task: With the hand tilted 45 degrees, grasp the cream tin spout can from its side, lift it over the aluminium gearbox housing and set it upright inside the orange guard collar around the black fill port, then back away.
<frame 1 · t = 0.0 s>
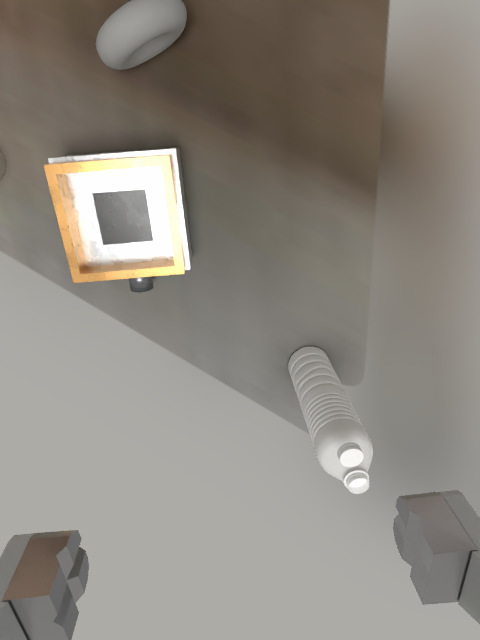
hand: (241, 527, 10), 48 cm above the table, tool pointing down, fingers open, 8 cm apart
water bottle: (305, 356, 65), on the table
gearbox: (132, 208, 53), on the table
donut: (149, 42, 46), on the table
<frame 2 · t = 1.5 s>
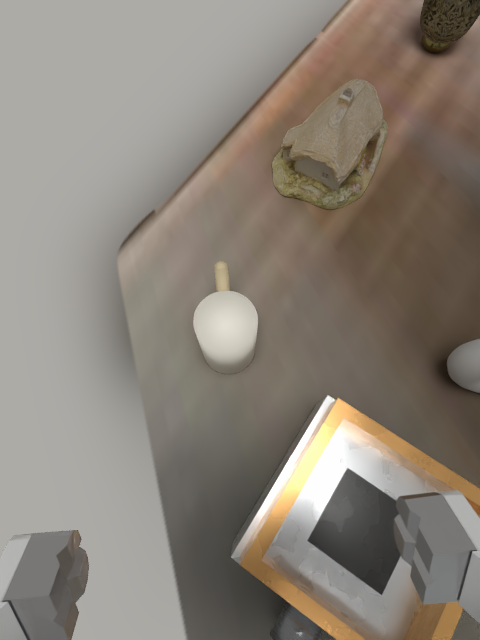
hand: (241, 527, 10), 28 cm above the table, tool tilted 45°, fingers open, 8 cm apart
gearbox: (344, 517, 35), on the table
donut: (478, 380, 40), on the table
cup: (433, 47, 55), on the table
ceramic model: (327, 164, 48), on the table
spout can: (229, 348, 41), on the table
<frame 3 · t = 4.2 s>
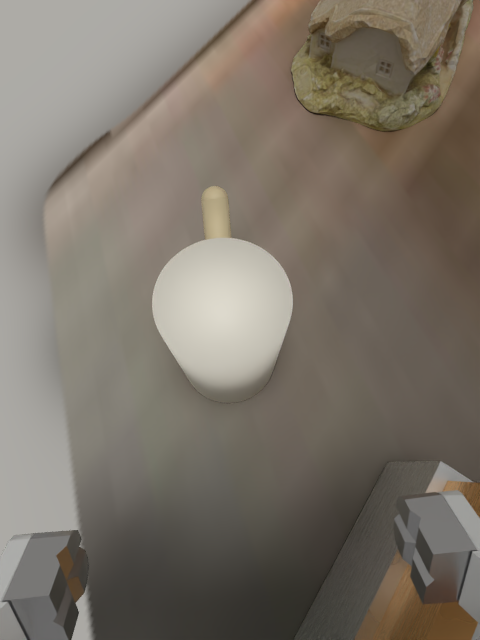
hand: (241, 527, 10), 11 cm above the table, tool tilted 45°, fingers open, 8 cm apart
ceramic model: (377, 67, 31), on the table
spout can: (229, 356, 23), on the table
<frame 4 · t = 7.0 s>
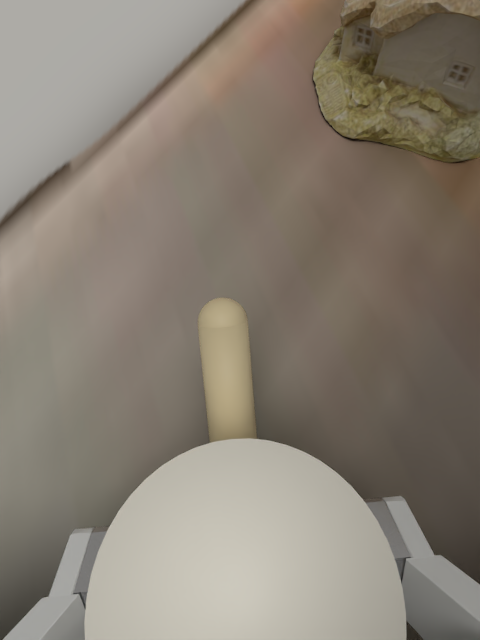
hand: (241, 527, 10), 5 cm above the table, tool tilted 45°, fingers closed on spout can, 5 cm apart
ceramic model: (429, 72, 23), on the table
spout can: (242, 529, 15), on the table, touching gripper
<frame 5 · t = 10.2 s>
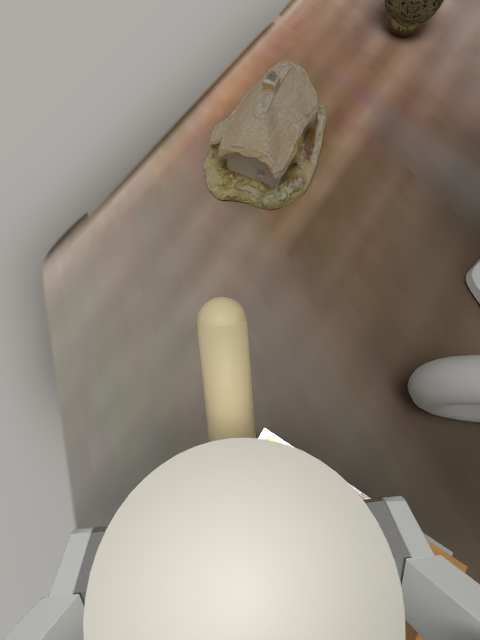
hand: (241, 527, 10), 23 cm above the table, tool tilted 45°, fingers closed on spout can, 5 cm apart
gearbox: (290, 567, 31), on the table
donut: (447, 401, 35), on the table
cup: (401, 30, 50), on the table
ceramic model: (266, 159, 44), on the table
spout can: (242, 528, 15), point 19 cm above the table, touching gripper
when the fingers open (13 cm above the table, at t = 13.5 s): spout can drops 2 cm, resting on gearbox.
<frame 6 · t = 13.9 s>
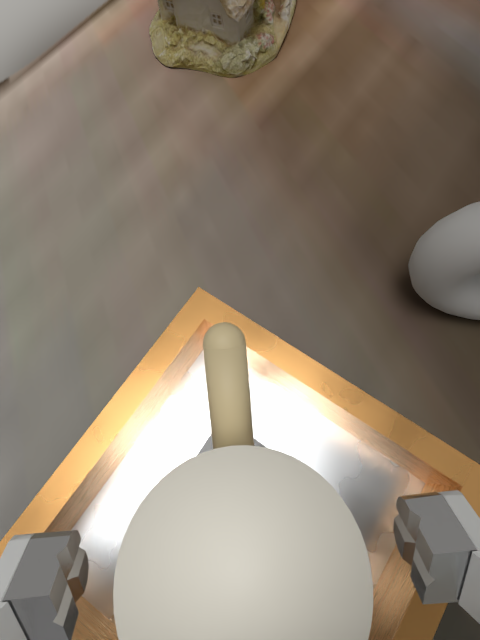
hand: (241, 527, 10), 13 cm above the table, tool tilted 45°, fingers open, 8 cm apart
gearbox: (241, 508, 22), on the table
donut: (460, 302, 26), on the table
ceramic model: (227, 25, 35), on the table
spout can: (241, 524, 16), point 6 cm above the table, touching gearbox
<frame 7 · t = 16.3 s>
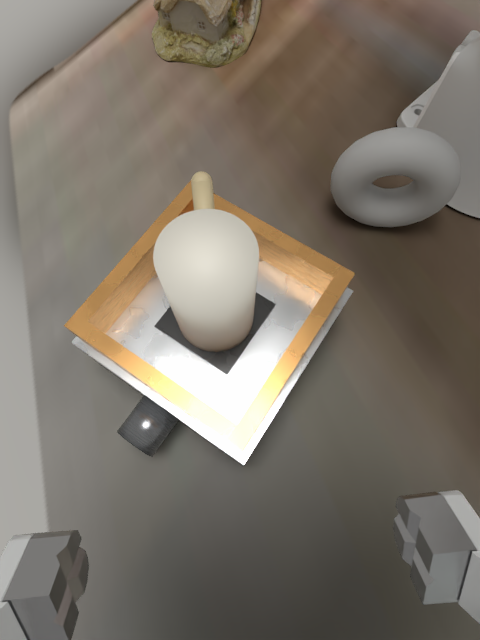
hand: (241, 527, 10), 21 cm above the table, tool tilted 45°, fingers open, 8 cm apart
gearbox: (219, 341, 34), on the table
donut: (372, 219, 38), on the table
ceramic model: (209, 29, 47), on the table
spout can: (215, 315, 28), point 6 cm above the table, touching gearbox
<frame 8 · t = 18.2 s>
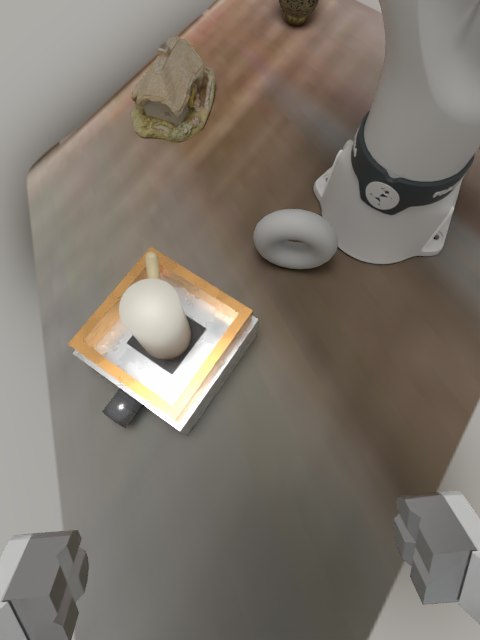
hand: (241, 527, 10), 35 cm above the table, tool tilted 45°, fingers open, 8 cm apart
gearbox: (175, 351, 49), on the table
donut: (290, 261, 53), on the table
cup: (295, 21, 68), on the table
ceramic model: (175, 110, 62), on the table
spout can: (166, 335, 43), point 6 cm above the table, touching gearbox
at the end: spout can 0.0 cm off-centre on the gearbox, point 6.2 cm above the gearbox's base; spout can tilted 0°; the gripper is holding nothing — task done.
